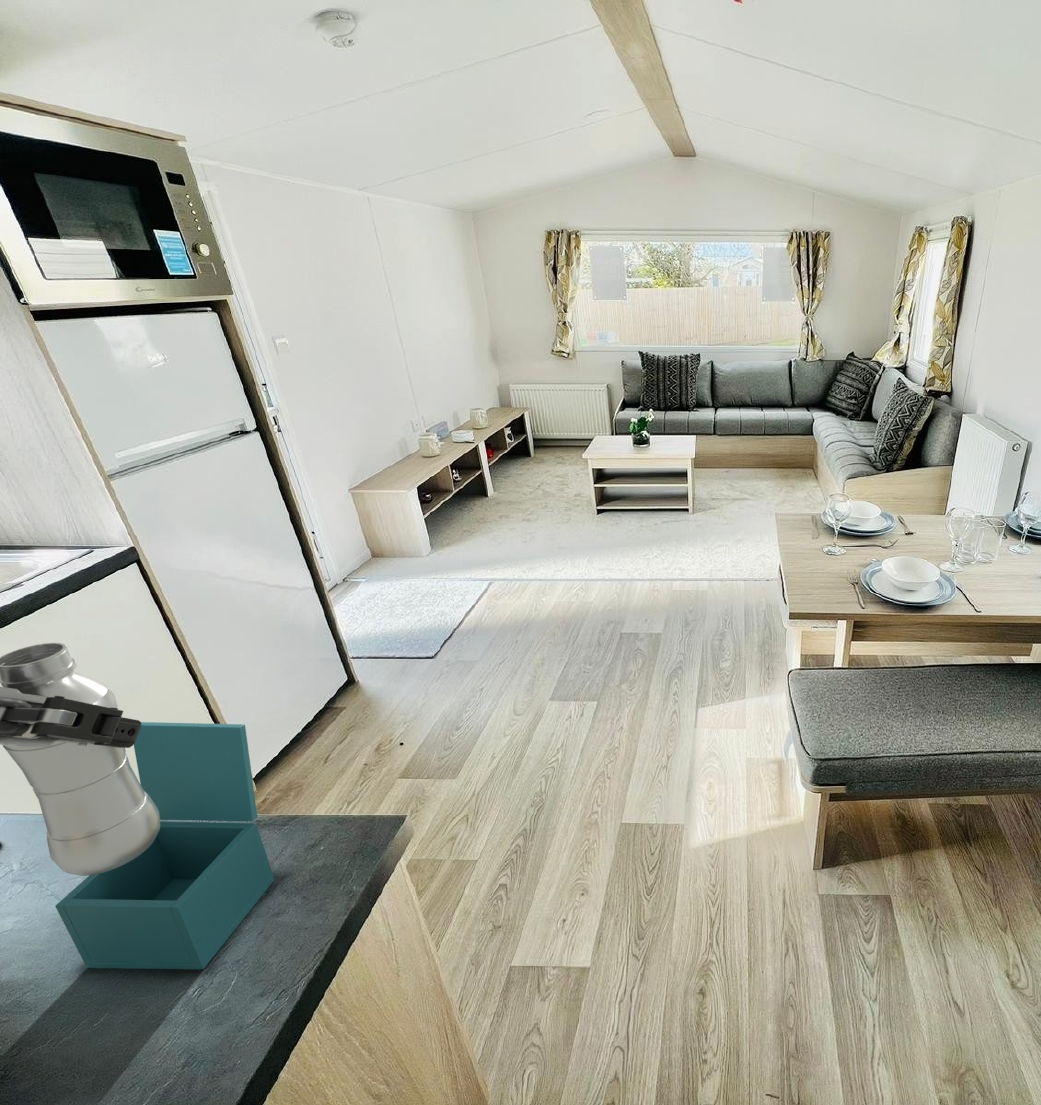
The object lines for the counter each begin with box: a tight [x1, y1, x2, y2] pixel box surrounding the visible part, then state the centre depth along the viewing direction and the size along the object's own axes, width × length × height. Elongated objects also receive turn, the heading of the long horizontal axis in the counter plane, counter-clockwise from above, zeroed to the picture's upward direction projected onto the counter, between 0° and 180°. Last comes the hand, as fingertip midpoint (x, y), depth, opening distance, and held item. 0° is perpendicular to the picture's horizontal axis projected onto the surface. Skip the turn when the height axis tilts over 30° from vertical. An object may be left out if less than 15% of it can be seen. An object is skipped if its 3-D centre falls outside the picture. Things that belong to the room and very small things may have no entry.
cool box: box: [55, 820, 275, 970], centre depth 66 cm, size 11×12×9 cm
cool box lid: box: [133, 721, 258, 822], centre depth 68 cm, size 11×12×1 cm
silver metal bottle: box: [0, 642, 161, 877], centre depth 50 cm, size 6×7×20 cm
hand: (89, 733), depth 51 cm, fingers closed on silver metal bottle, 6 cm apart
